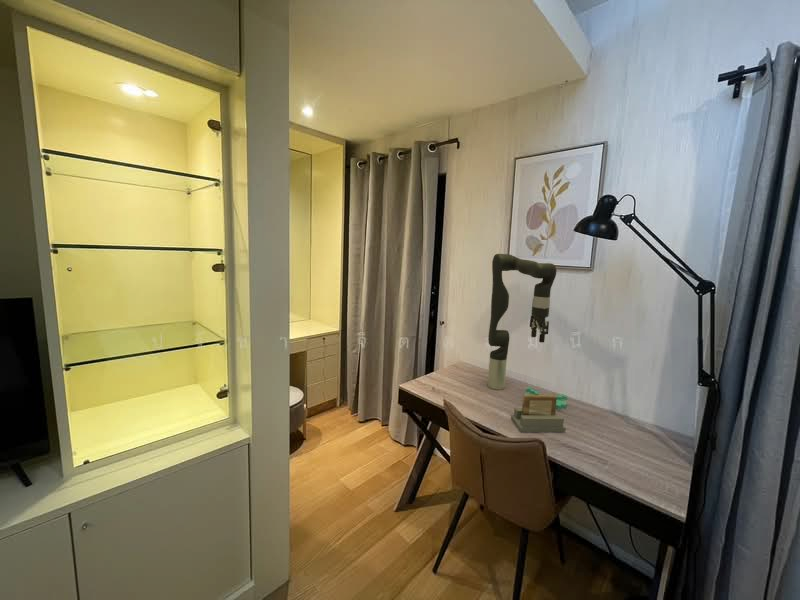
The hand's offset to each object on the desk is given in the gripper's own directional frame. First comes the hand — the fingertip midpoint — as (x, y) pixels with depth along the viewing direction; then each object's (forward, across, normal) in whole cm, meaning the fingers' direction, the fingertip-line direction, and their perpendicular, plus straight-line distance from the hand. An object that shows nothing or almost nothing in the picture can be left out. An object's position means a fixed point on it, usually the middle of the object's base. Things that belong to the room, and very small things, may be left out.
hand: (537, 339), depth 161 cm
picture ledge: (+36, +14, -3) cm, 39 cm away
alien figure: (+37, -10, +12) cm, 40 cm away
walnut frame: (+34, +14, -3) cm, 37 cm away
